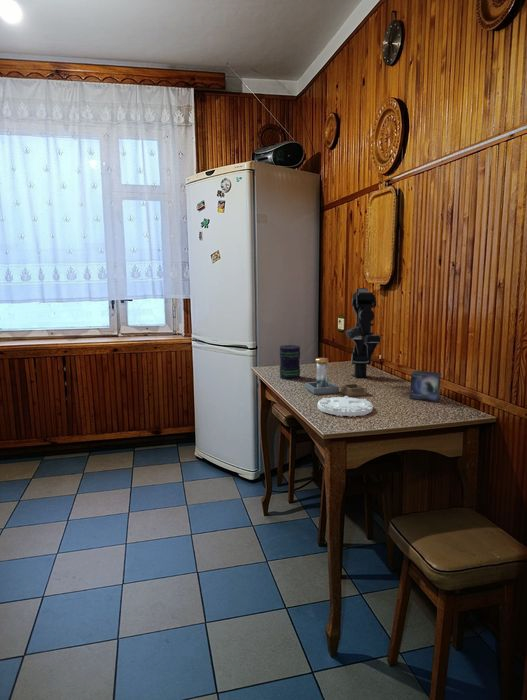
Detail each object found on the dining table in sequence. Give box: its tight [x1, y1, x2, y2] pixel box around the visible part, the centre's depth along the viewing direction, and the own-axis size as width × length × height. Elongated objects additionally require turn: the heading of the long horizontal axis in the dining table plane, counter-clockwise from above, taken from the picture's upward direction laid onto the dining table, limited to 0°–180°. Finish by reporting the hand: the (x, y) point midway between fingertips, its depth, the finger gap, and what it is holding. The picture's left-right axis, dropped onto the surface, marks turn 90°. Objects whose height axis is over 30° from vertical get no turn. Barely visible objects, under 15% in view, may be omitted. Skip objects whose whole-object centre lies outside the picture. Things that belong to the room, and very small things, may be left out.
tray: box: [304, 380, 340, 396], centre depth 199 cm, size 11×11×2 cm
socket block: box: [340, 382, 368, 397], centre depth 194 cm, size 8×8×3 cm
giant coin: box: [317, 395, 374, 418], centre depth 172 cm, size 20×20×3 cm
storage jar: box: [279, 344, 301, 381], centre depth 223 cm, size 10×10×15 cm
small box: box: [409, 370, 442, 403], centre depth 184 cm, size 11×6×10 cm, turn 62°
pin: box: [314, 357, 329, 388], centre depth 198 cm, size 5×5×13 cm
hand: (364, 356), depth 206 cm, fingers open, 9 cm apart
